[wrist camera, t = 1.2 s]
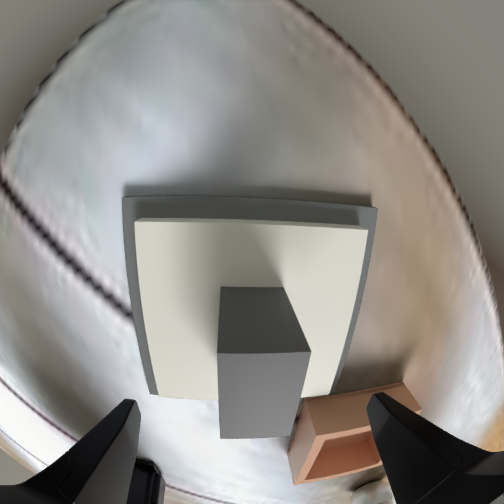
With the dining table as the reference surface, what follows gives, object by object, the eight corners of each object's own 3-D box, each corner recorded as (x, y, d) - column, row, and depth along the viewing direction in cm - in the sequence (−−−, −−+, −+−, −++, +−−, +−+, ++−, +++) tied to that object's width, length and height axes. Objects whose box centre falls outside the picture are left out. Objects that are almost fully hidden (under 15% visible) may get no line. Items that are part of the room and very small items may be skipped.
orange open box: (286, 452, 21) (293, 484, 17) (303, 395, 18) (316, 435, 14) (368, 437, 22) (381, 464, 18) (400, 379, 19) (422, 409, 15)
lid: (161, 385, 16) (145, 459, 10) (140, 217, 12) (81, 257, 7) (325, 384, 17) (352, 452, 11) (359, 225, 13) (431, 265, 8)
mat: (151, 388, 16) (150, 394, 16) (126, 196, 13) (122, 197, 12) (332, 387, 18) (334, 392, 17) (372, 206, 14) (377, 208, 13)
